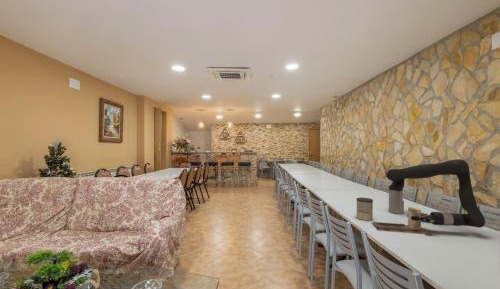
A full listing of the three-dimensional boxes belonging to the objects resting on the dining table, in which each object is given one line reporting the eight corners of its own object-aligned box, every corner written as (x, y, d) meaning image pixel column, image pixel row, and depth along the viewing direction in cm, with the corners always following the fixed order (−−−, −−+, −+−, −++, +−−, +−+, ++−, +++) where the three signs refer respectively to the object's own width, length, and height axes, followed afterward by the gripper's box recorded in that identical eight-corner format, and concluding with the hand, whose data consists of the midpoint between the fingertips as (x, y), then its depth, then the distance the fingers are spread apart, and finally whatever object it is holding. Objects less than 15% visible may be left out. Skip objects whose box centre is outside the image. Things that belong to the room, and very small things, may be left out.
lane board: (419, 227, 154) (419, 223, 154) (432, 235, 140) (432, 232, 140) (370, 223, 160) (370, 220, 160) (377, 231, 146) (377, 228, 146)
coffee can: (354, 217, 175) (354, 197, 174) (369, 217, 174) (369, 197, 173) (359, 221, 164) (359, 200, 164) (375, 222, 163) (375, 201, 163)
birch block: (416, 227, 150) (417, 207, 150) (420, 230, 145) (421, 209, 145) (407, 226, 151) (408, 207, 151) (411, 229, 146) (411, 209, 146)
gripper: (435, 209, 152) (404, 207, 156) (448, 215, 138) (414, 213, 142) (435, 221, 152) (404, 219, 156) (448, 229, 138) (414, 226, 142)
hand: (409, 216), depth 149 cm, fingers closed on birch block, 5 cm apart
